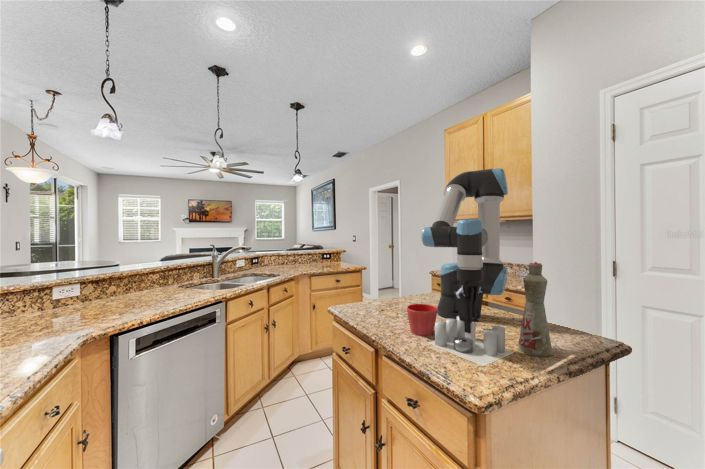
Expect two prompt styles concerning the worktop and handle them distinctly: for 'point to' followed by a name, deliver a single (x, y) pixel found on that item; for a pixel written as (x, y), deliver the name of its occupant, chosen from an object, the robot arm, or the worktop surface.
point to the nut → (463, 345)
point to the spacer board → (482, 350)
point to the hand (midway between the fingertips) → (470, 342)
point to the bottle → (535, 315)
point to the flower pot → (422, 319)
